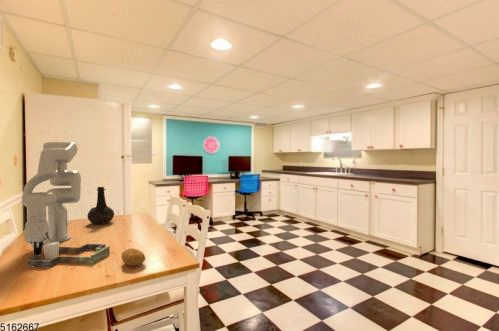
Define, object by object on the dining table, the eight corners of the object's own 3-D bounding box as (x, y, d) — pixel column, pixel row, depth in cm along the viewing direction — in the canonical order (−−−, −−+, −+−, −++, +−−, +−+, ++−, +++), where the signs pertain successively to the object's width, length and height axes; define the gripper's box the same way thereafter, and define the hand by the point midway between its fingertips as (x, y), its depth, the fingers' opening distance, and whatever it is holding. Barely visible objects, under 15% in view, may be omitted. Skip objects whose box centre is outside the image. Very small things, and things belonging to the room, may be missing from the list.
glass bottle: (98, 220, 209) (98, 185, 208) (119, 220, 207) (118, 185, 206) (81, 225, 191) (80, 188, 190) (103, 226, 189) (103, 188, 188)
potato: (126, 271, 116) (126, 256, 116) (118, 262, 126) (118, 248, 125) (147, 265, 122) (147, 251, 122) (138, 257, 132) (138, 244, 131)
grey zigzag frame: (19, 266, 121) (19, 258, 121) (61, 248, 145) (61, 241, 145) (84, 269, 118) (84, 260, 118) (116, 249, 143) (116, 242, 142)
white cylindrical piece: (49, 254, 136) (48, 241, 136) (63, 254, 136) (62, 240, 136) (39, 259, 129) (39, 245, 129) (54, 259, 130) (53, 245, 129)
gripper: (16, 220, 130) (17, 256, 130) (44, 220, 128) (45, 257, 129) (30, 216, 137) (31, 251, 138) (56, 217, 136) (57, 252, 136)
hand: (38, 254), depth 133 cm, fingers closed
